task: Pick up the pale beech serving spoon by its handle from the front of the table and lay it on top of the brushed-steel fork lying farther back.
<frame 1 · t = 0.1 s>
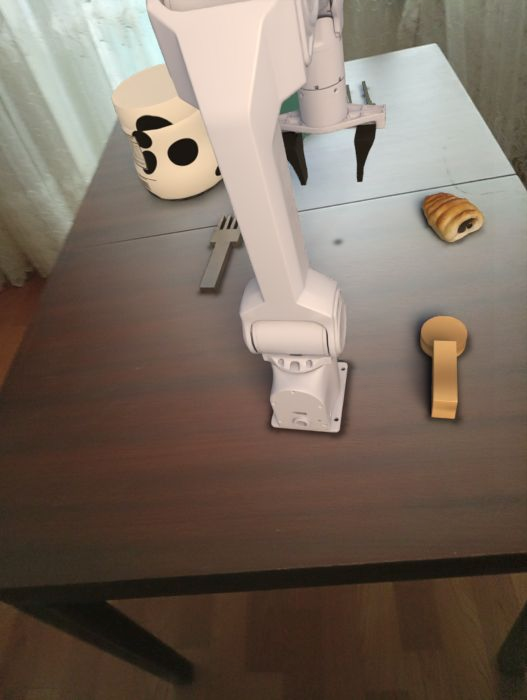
hand: (332, 179, 68), 10 cm above the table, tool pointing down, fingers open, 7 cm apart
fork: (222, 255, 79), on the table
spoon: (442, 369, 58), on the table
pastry: (449, 224, 73), on the table
cutlery set: (298, 123, 99), on the table
milk container: (191, 181, 95), on the table
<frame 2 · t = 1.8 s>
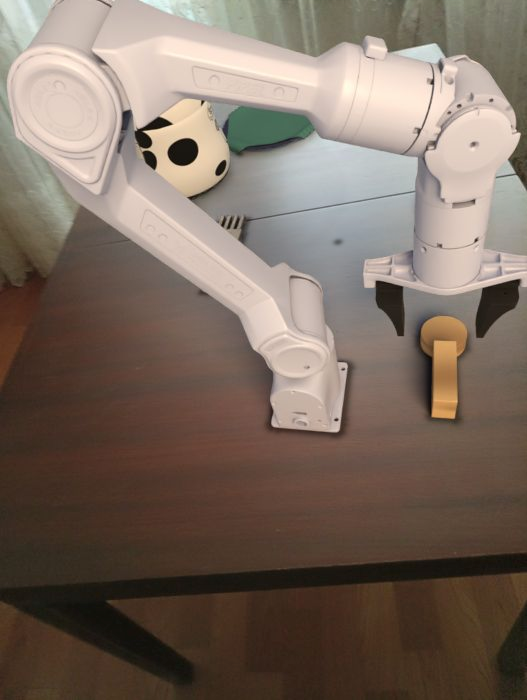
hand: (439, 329, 52), 8 cm above the table, tool pointing down, fingers open, 7 cm apart
nothing on the table moved.
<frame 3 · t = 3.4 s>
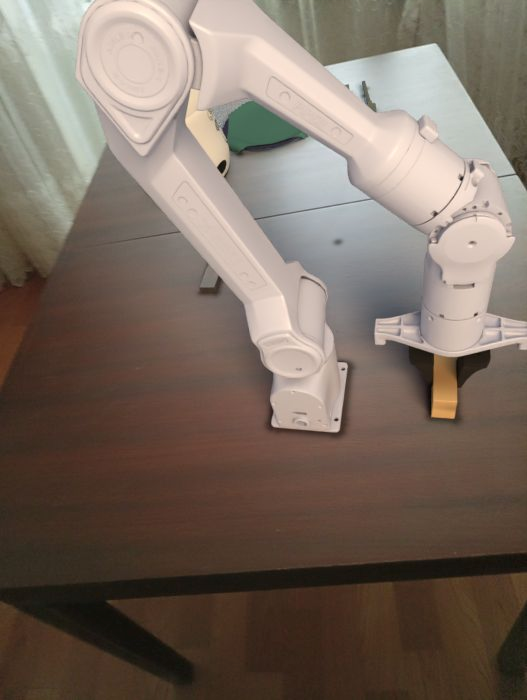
hand: (443, 379, 56), 2 cm above the table, tool pointing down, fingers closed on spoon, 2 cm apart
spoon: (442, 369, 58), on the table, touching gripper
everything else where it was.
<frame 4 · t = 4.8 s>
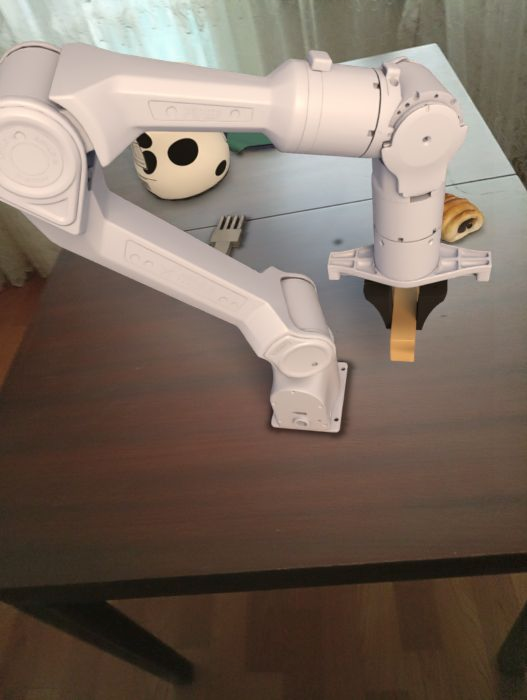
hand: (404, 322, 53), 8 cm above the table, tool pointing down, fingers closed on spoon, 2 cm apart
spoon: (405, 314, 56), point 7 cm above the table, touching gripper
everything else where it was.
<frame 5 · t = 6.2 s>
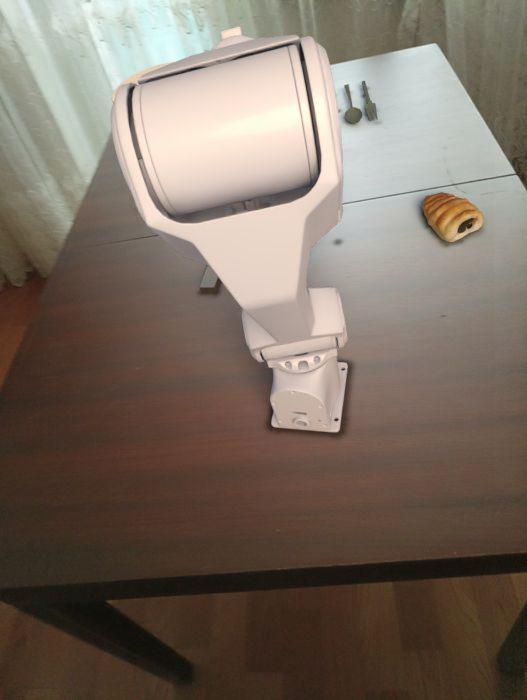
hand: (289, 264, 62), 8 cm above the table, tool pointing down, fingers closed on spoon, 2 cm apart
spoon: (294, 259, 65), point 7 cm above the table, touching gripper
everything else where it was.
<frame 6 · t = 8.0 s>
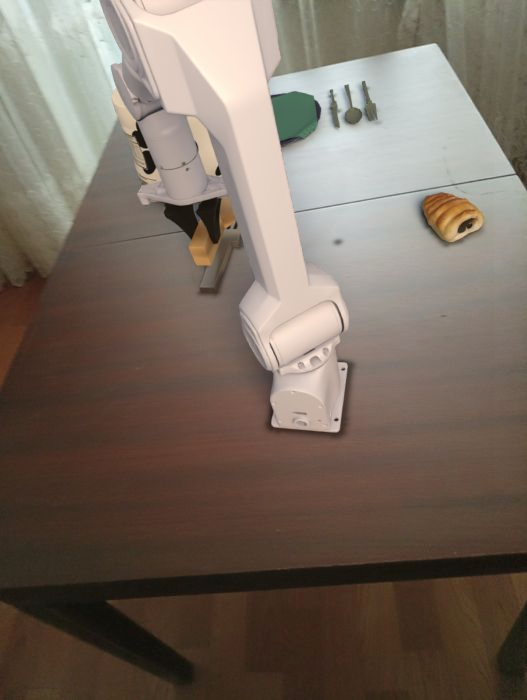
hand: (207, 239, 73), 6 cm above the table, tool pointing down, fingers closed on spoon, 2 cm apart
spoon: (215, 235, 76), point 4 cm above the table, touching gripper
everything else where it was.
when the fingers open (3 cm above the table, at t = 9.1 s): spoon stays where it is, resting on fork.
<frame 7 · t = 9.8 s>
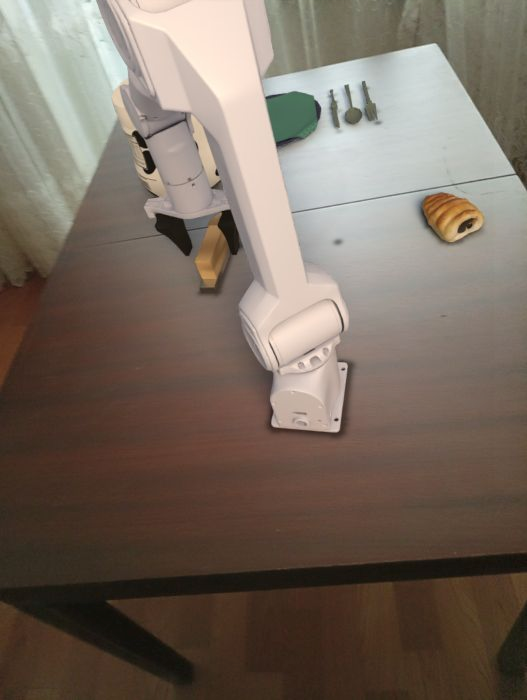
hand: (212, 251, 75), 3 cm above the table, tool pointing down, fingers open, 7 cm apart
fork: (222, 255, 79), on the table, touching spoon
spoon: (220, 249, 78), point 1 cm above the table, touching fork
everything else where it was.
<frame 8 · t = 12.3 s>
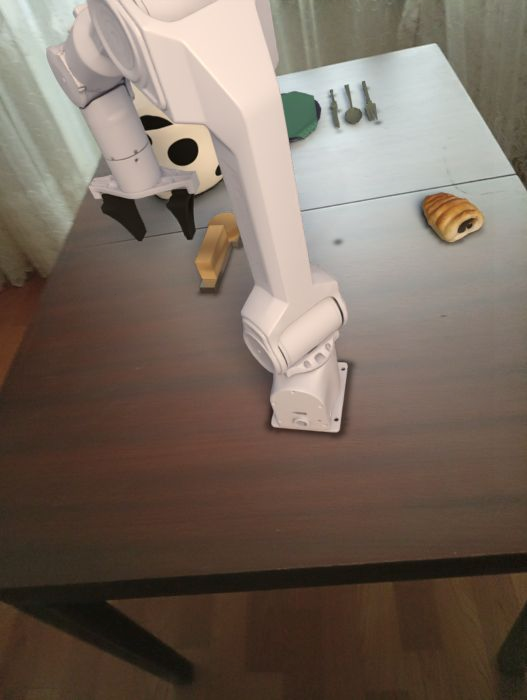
hand: (166, 235, 70), 9 cm above the table, tool pointing down, fingers open, 7 cm apart
nothing on the table moved.
at the end: spoon point 1.2 cm above the table; spoon 0.1 cm from the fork (horizontally); spoon touching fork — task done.
